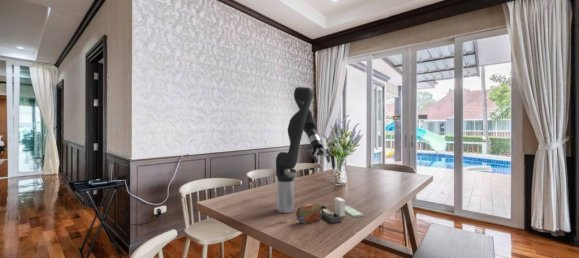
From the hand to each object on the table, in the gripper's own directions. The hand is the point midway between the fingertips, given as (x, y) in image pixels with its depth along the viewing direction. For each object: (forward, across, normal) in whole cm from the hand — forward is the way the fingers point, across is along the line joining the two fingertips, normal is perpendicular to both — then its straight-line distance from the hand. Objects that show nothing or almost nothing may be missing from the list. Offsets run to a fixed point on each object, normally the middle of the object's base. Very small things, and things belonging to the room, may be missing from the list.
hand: (323, 162), depth 154 cm
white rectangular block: (+33, 0, +4) cm, 33 cm away
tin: (+36, -20, +1) cm, 41 cm away
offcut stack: (+34, -7, +4) cm, 35 cm away
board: (+32, +8, +5) cm, 33 cm away
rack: (+33, -8, +4) cm, 34 cm away
